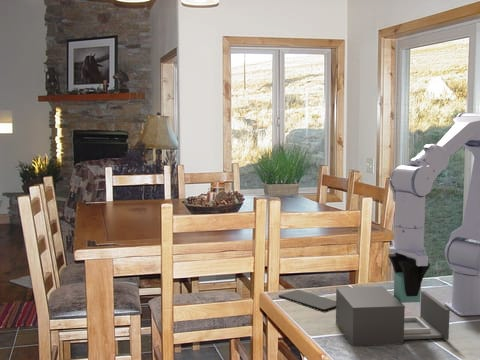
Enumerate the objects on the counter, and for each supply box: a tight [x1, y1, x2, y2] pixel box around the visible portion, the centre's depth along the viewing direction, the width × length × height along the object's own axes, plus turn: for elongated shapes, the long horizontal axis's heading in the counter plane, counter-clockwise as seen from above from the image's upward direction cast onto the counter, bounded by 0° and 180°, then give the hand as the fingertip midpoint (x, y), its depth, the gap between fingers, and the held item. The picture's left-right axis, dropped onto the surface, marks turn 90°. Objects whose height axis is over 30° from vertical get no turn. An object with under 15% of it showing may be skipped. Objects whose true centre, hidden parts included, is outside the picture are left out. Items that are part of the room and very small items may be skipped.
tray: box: [404, 290, 451, 341], centre depth 118 cm, size 10×12×6 cm
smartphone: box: [278, 289, 336, 312], centre depth 138 cm, size 7×1×15 cm
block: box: [393, 272, 422, 304], centre depth 118 cm, size 4×4×5 cm
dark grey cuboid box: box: [335, 286, 406, 347], centre depth 117 cm, size 10×13×8 cm
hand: (407, 292), depth 118 cm, fingers closed on block, 4 cm apart
